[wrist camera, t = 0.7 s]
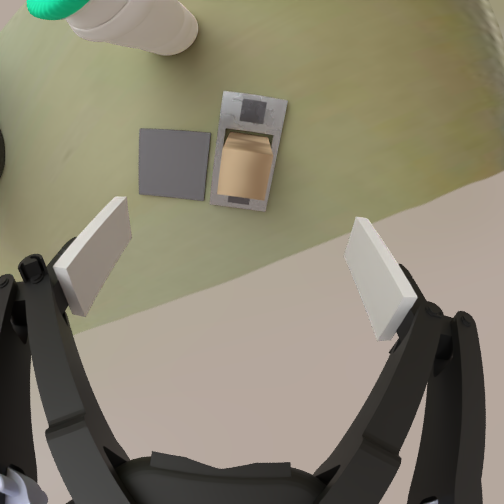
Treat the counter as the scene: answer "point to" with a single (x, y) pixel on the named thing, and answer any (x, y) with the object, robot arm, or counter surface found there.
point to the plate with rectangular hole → (248, 119)
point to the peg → (245, 166)
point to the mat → (173, 163)
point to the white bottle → (125, 22)
